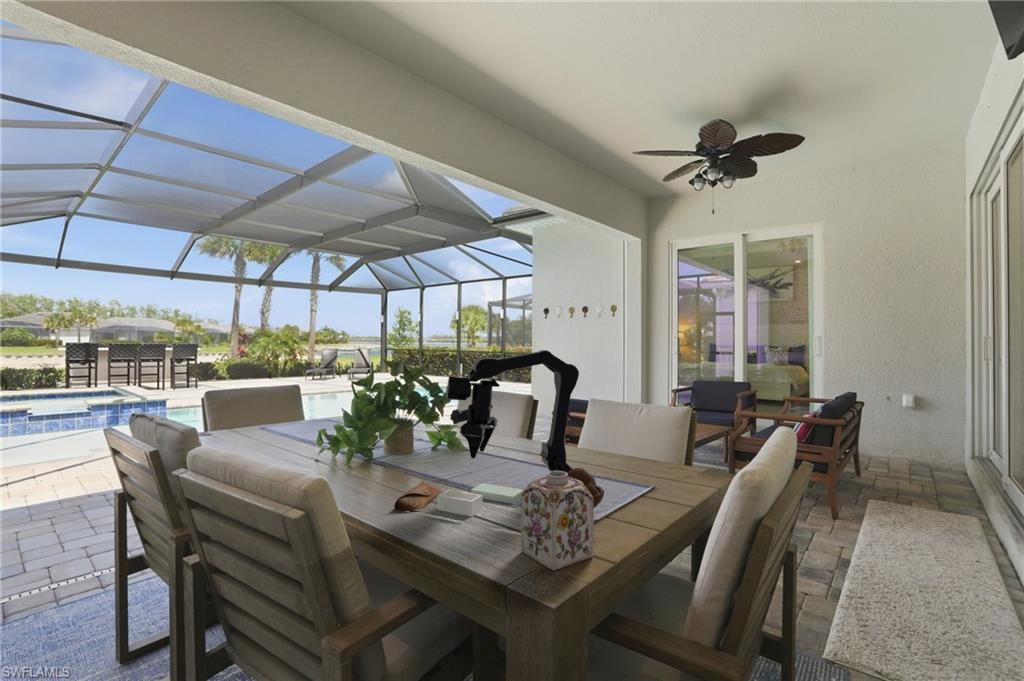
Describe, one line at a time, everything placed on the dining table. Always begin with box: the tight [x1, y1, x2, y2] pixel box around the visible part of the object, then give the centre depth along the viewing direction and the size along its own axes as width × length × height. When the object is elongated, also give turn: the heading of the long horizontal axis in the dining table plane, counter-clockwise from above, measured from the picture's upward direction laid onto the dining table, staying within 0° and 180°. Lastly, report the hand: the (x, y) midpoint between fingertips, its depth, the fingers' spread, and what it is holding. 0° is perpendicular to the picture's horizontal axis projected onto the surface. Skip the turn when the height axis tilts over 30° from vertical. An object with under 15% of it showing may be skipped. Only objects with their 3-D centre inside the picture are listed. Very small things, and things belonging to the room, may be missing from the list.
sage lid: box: [470, 483, 525, 504], centre depth 144 cm, size 14×7×2 cm, turn 63°
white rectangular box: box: [436, 489, 484, 517], centre depth 133 cm, size 11×6×4 cm, turn 63°
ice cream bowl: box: [567, 467, 605, 510], centre depth 122 cm, size 11×11×15 cm
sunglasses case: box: [393, 480, 444, 513], centre depth 141 cm, size 18×7×7 cm
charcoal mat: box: [469, 491, 521, 509], centre depth 144 cm, size 18×12×1 cm, turn 63°
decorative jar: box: [520, 471, 595, 571], centre depth 107 cm, size 12×12×18 cm
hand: (477, 454), depth 142 cm, fingers open, 9 cm apart
